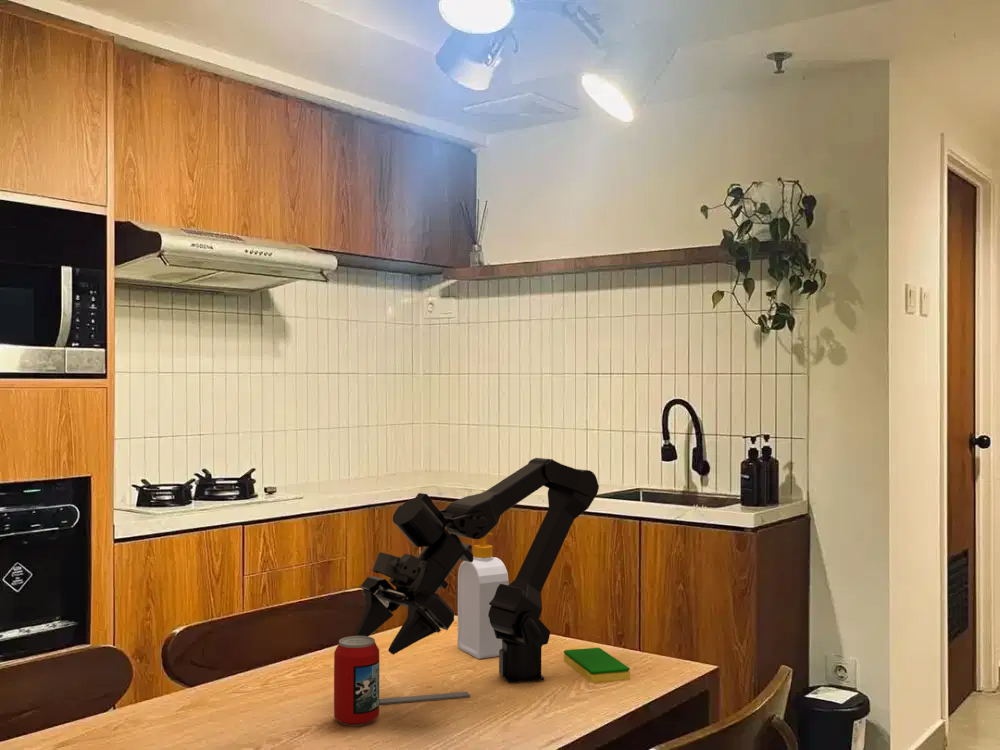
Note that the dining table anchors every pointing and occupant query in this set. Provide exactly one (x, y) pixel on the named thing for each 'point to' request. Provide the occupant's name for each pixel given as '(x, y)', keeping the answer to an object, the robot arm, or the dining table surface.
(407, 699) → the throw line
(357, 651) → the beverage can
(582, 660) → the dish sponge
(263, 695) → the dining table surface
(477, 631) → the soap bottle
